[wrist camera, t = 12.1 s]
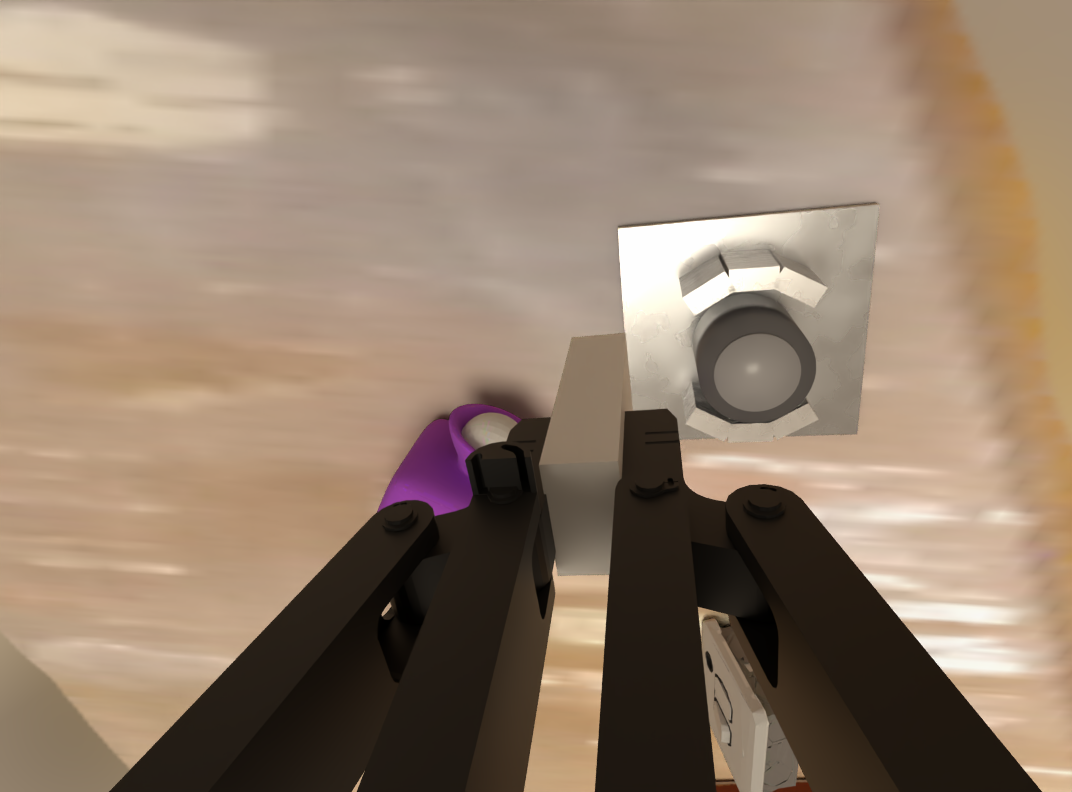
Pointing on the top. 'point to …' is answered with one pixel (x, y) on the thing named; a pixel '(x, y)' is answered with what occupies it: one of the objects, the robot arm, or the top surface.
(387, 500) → the toy camera
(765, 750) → the electrical switch
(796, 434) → the grey square plate
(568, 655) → the top surface
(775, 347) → the dark grey cylinder
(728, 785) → the cine camera
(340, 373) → the top surface
